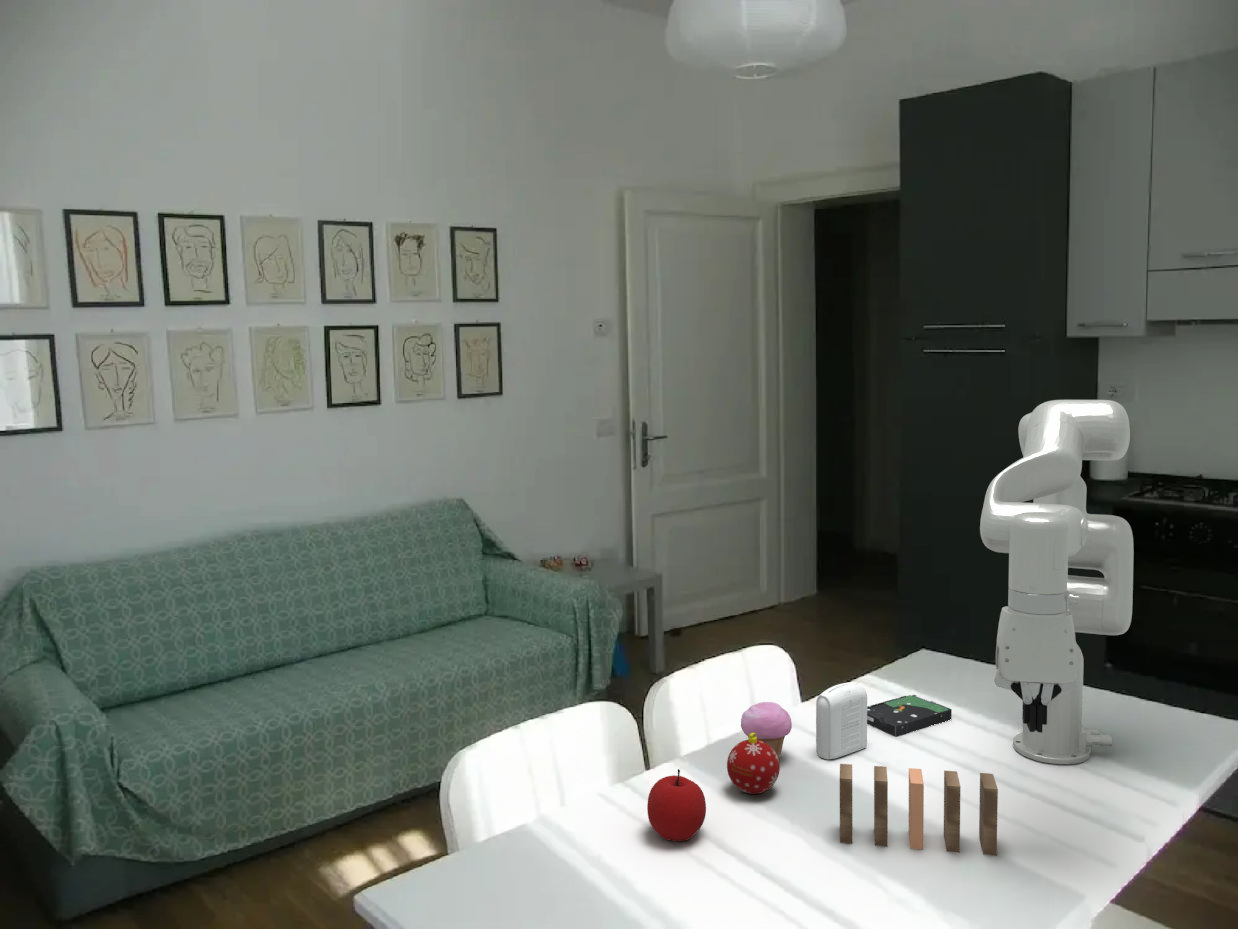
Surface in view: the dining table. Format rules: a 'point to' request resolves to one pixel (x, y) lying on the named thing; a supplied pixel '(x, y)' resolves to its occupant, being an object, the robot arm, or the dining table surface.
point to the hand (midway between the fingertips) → (1034, 728)
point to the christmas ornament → (753, 766)
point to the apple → (676, 808)
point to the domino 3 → (916, 808)
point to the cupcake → (767, 724)
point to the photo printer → (841, 720)
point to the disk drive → (906, 715)
